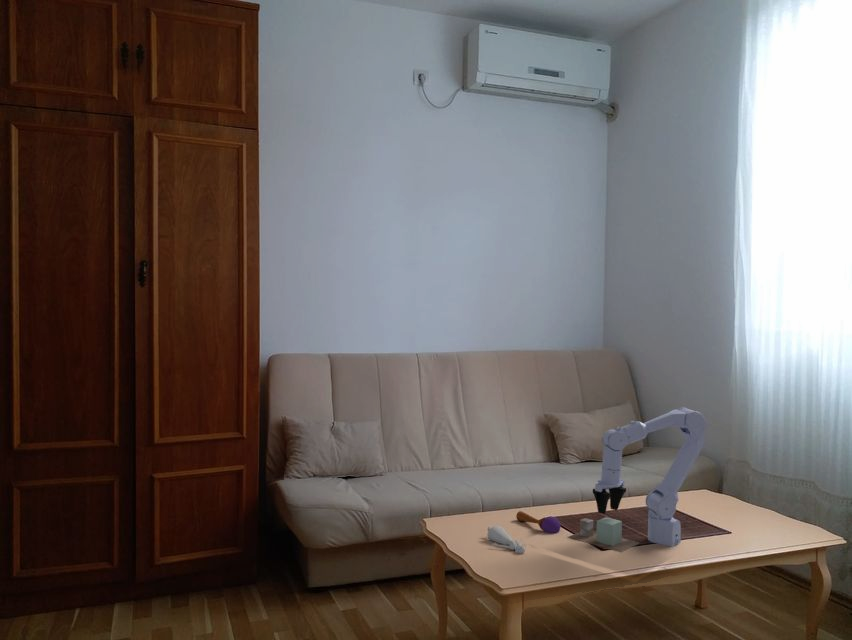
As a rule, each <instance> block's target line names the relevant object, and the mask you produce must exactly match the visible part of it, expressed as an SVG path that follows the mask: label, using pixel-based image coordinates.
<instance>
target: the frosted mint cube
mask: <svg viewBox="0 0 852 640" xmlns="http://www.w3.org/2000/svg"><path fill="white" fill-rule="evenodd" d="M622 526H623V521H622V520H619V519H614V518H611V517H606V516H605V517H603V518H601V519H599V520H596V531H597V538H596V542H600V543H604V544H607V545H611V546H613V545H616V544H618V543H620V542H622V538H623V536H622V535H623V532H622V531H623V527H622Z"/></svg>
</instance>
